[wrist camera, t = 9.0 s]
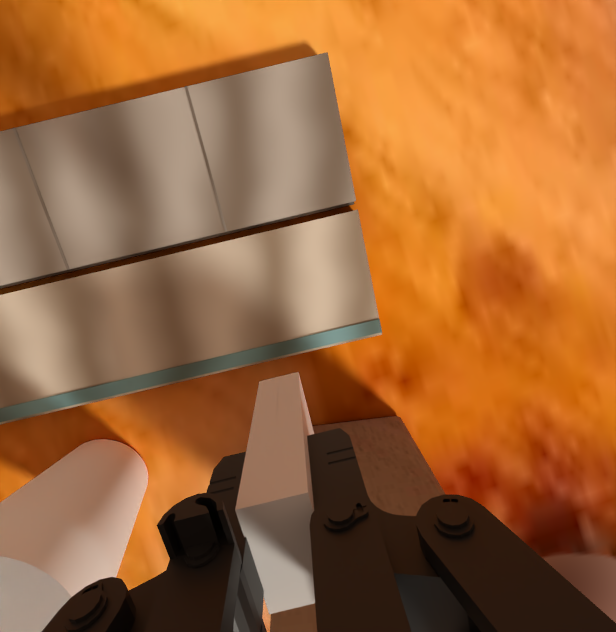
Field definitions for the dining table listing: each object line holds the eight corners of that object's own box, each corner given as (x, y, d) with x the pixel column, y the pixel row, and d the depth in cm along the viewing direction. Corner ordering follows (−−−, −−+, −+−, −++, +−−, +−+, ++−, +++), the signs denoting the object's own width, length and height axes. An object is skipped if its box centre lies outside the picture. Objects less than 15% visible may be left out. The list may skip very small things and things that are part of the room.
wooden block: (279, 427, 30) (259, 782, 11) (400, 412, 30) (594, 735, 11) (293, 529, 33) (298, 974, 13) (405, 515, 33) (574, 932, 13)
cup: (57, 521, 31) (-81, 694, 20) (43, 424, 29) (-120, 553, 18) (166, 520, 32) (95, 688, 20) (160, 424, 30) (76, 550, 18)
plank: (1, 417, 29) (-17, 428, 27) (-50, 307, 27) (-72, 312, 25) (377, 328, 29) (382, 334, 27) (353, 211, 27) (358, 209, 25)
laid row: (-52, 301, 27) (-75, 305, 25) (-114, 169, 25) (-142, 165, 23) (352, 204, 27) (356, 202, 25) (325, 63, 24) (327, 51, 23)
